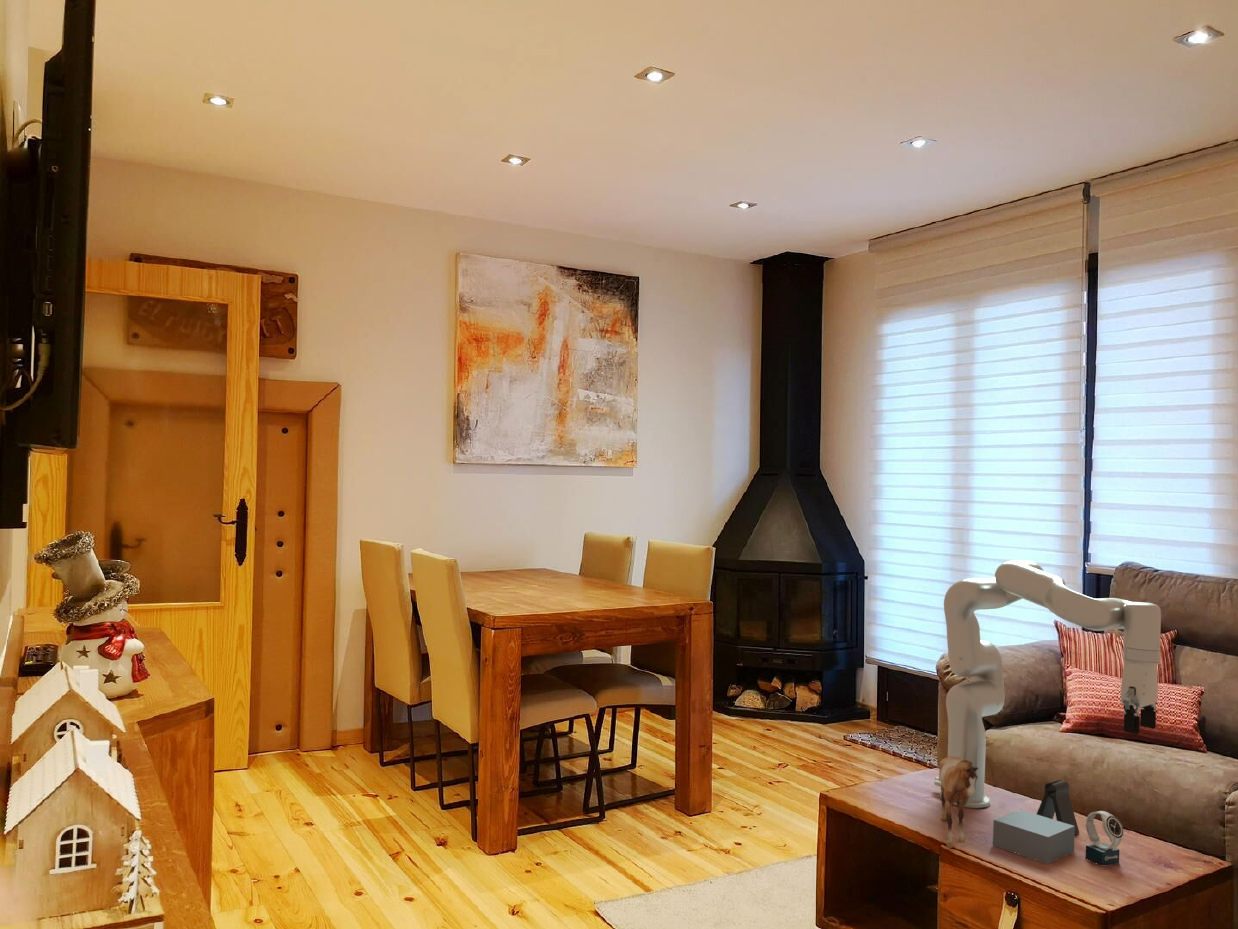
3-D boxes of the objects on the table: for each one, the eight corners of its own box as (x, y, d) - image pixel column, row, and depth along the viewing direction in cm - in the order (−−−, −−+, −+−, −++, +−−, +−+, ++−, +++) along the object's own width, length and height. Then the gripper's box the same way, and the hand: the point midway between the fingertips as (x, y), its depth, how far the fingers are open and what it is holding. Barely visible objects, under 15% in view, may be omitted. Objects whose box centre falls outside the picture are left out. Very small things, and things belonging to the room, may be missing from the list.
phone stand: (1079, 834, 232) (1081, 785, 233) (1066, 838, 229) (1068, 788, 229) (1044, 822, 240) (1046, 775, 240) (1031, 826, 236) (1033, 778, 236)
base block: (992, 845, 221) (993, 819, 222) (1019, 834, 230) (1020, 809, 230) (1047, 864, 211) (1048, 837, 212) (1073, 852, 220) (1074, 826, 220)
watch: (1109, 869, 210) (1111, 820, 210) (1078, 856, 217) (1080, 808, 218) (1127, 866, 212) (1128, 817, 213) (1096, 853, 220) (1097, 805, 220)
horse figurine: (975, 858, 213) (978, 766, 214) (939, 852, 215) (942, 762, 216) (968, 815, 243) (971, 734, 243) (936, 810, 245) (939, 731, 246)
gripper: (1138, 650, 228) (1137, 722, 227) (1109, 656, 217) (1107, 731, 216) (1172, 655, 222) (1171, 728, 222) (1144, 661, 211) (1143, 738, 210)
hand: (1139, 730), depth 219 cm, fingers open, 9 cm apart
